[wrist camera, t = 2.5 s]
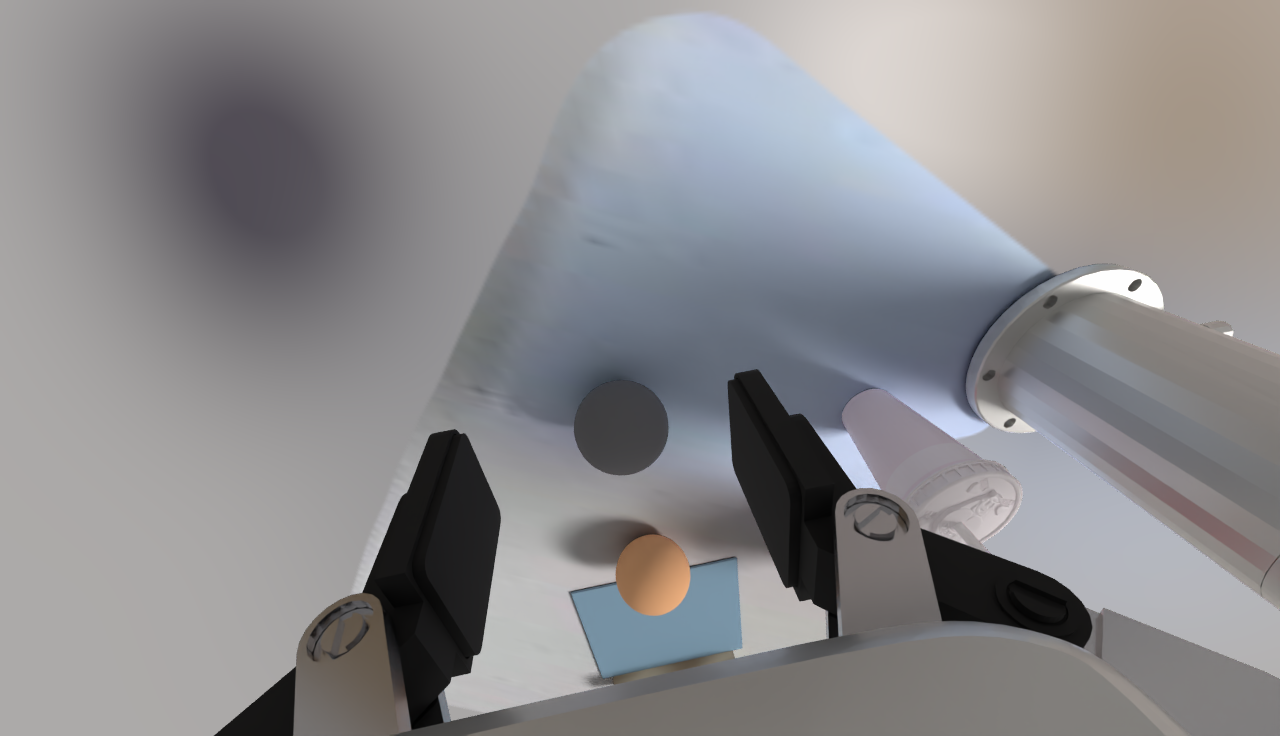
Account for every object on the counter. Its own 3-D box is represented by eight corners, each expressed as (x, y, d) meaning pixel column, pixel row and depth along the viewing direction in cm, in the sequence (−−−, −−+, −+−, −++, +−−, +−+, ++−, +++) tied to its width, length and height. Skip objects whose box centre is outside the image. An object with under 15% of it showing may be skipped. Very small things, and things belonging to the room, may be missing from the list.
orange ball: (678, 512, 36) (694, 576, 31) (684, 558, 39) (701, 622, 34) (606, 527, 36) (612, 593, 31) (619, 572, 39) (626, 638, 34)
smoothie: (804, 421, 33) (938, 610, 21) (876, 355, 31) (1069, 524, 19) (859, 458, 36) (1005, 645, 24) (928, 399, 34) (1127, 572, 22)
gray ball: (654, 355, 29) (670, 407, 24) (664, 425, 32) (681, 484, 27) (564, 372, 29) (564, 429, 24) (583, 441, 32) (586, 504, 27)
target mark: (736, 557, 40) (736, 559, 40) (741, 646, 47) (742, 648, 47) (571, 592, 39) (571, 594, 39) (602, 676, 47) (602, 678, 46)
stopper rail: (731, 648, 47) (739, 675, 45) (732, 658, 48) (740, 685, 46) (612, 674, 47) (615, 702, 45) (616, 684, 48) (618, 712, 46)
